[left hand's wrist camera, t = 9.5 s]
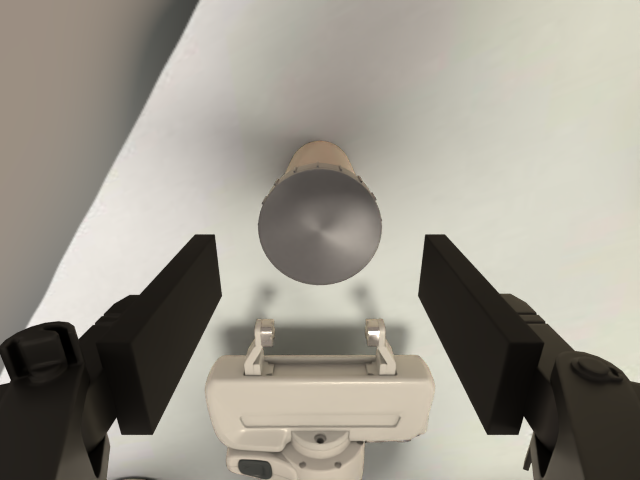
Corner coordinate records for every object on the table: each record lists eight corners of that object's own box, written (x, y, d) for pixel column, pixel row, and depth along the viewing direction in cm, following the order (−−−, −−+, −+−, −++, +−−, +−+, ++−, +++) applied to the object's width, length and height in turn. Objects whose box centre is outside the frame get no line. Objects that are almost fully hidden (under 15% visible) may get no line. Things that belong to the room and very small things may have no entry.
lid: (312, 134, 18) (312, 138, 16) (402, 212, 19) (409, 223, 18) (239, 225, 20) (231, 237, 18) (326, 290, 21) (327, 307, 20)
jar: (316, 126, 31) (313, 149, 17) (363, 169, 32) (396, 222, 18) (276, 176, 32) (243, 233, 18) (323, 214, 33) (325, 294, 20)
